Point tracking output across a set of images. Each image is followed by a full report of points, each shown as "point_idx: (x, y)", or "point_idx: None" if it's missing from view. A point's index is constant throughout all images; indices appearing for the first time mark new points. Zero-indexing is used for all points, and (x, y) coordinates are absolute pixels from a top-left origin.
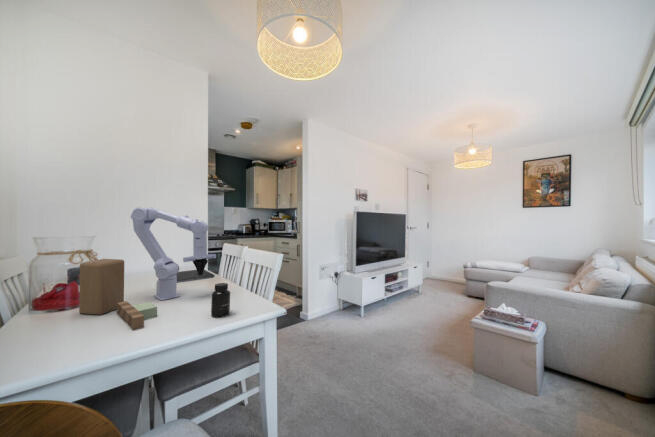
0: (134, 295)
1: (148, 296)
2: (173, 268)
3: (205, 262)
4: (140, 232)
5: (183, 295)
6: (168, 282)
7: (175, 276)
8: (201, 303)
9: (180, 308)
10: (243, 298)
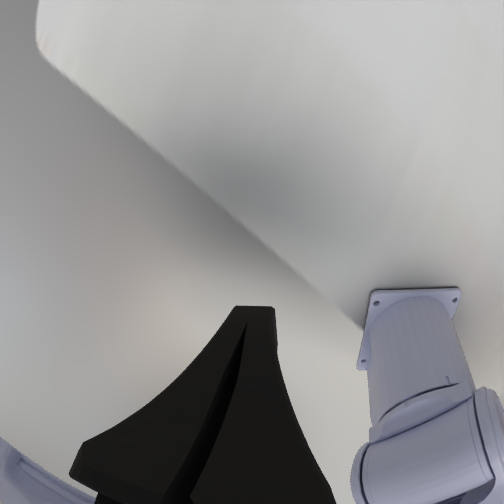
0: None
1: None
2: (429, 469)
3: (125, 454)
4: None
5: (345, 298)
6: (455, 369)
7: (399, 416)
8: (334, 51)
9: (463, 74)
10: (86, 5)
